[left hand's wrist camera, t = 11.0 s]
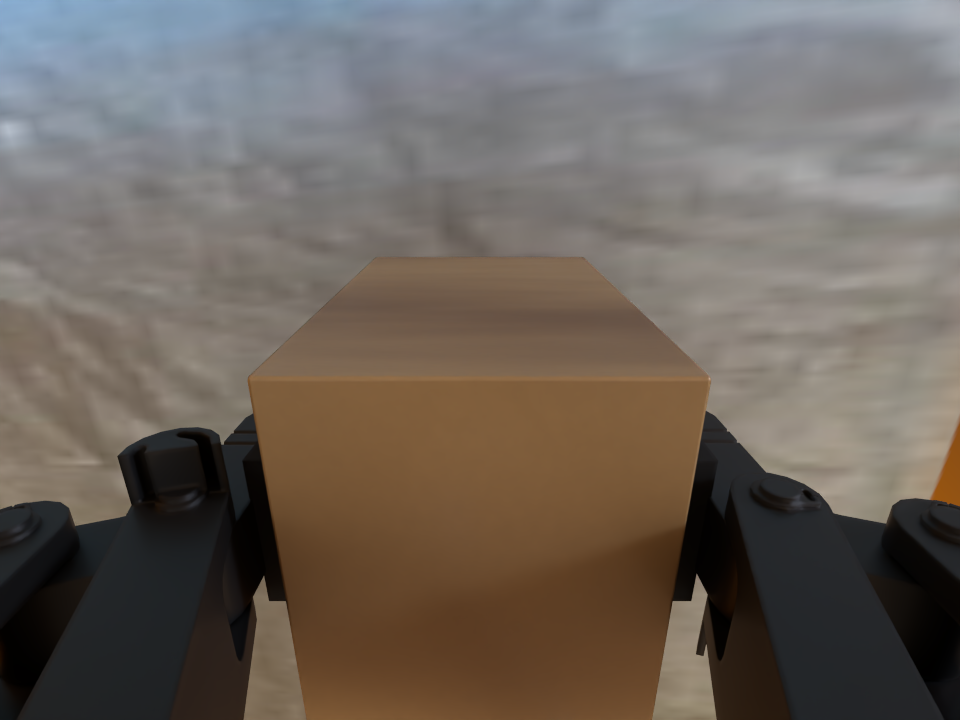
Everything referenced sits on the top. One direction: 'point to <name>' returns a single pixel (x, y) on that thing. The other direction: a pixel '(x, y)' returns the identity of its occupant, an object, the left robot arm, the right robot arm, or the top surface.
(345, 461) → the bar
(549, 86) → the top surface
